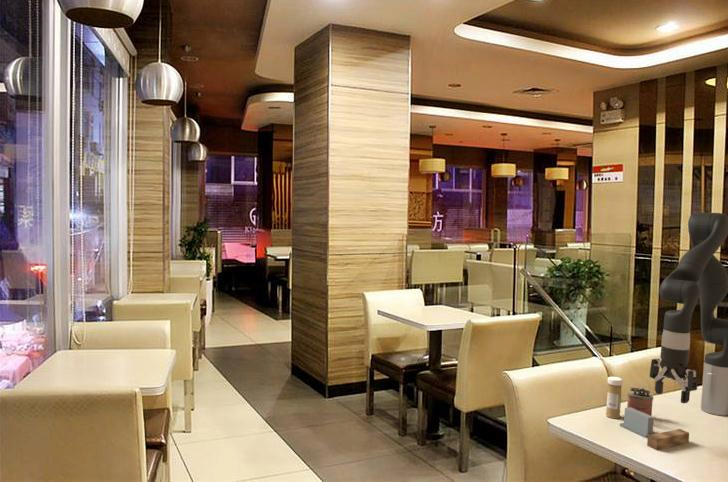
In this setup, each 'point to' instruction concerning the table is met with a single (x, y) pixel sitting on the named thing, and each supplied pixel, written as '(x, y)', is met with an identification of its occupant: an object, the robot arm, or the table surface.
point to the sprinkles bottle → (614, 397)
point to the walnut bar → (668, 439)
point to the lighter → (640, 400)
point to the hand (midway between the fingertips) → (671, 398)
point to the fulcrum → (638, 422)
